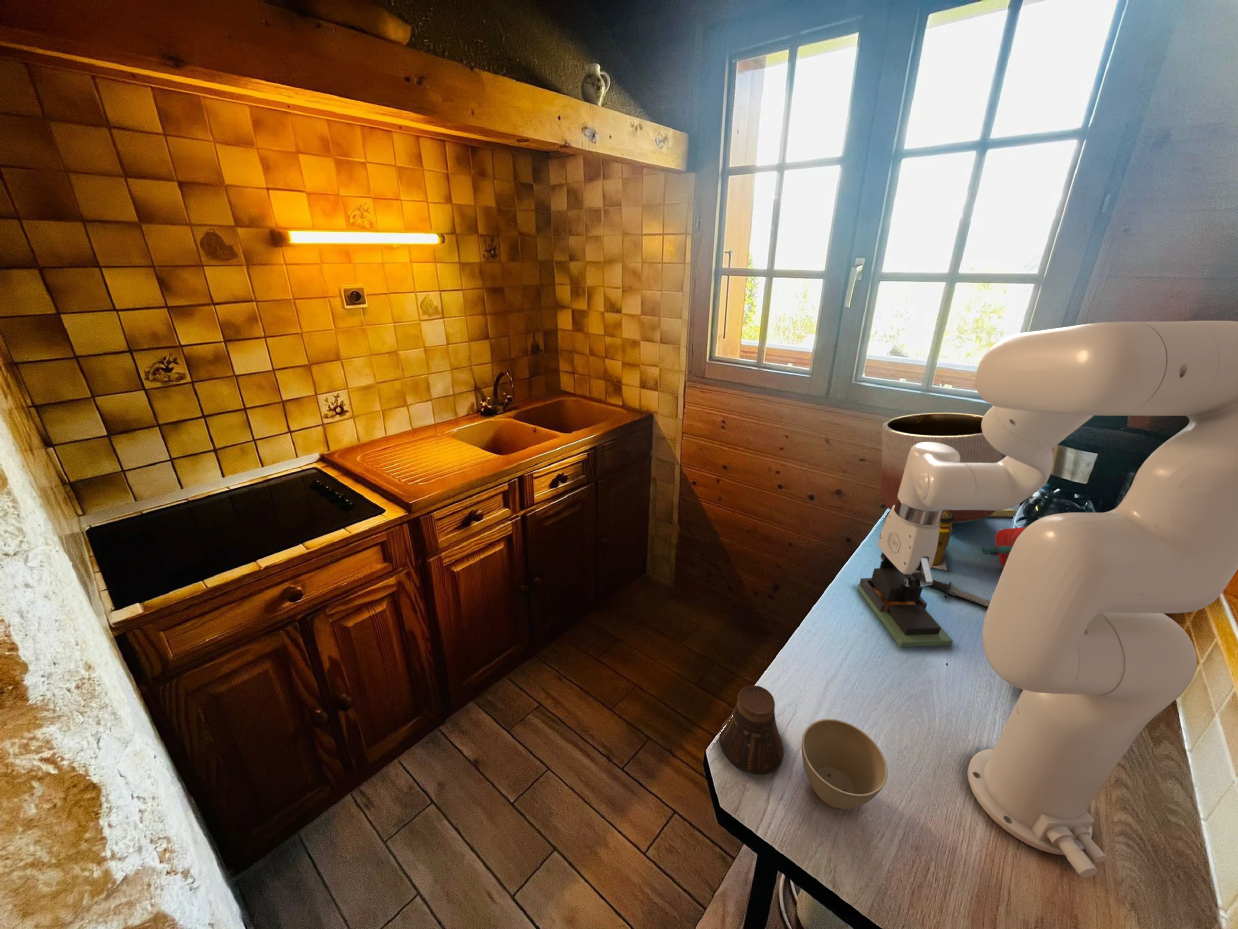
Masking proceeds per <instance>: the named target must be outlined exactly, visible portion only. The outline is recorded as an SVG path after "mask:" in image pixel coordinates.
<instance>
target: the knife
mask: <svg viewBox="0 0 1238 929" xmlns="http://www.w3.org/2000/svg"><path fill="white" fill-rule="evenodd" d="M911 575H912V576H913V577H914V578H915V579H916V574H911ZM932 580H933V584H932V585H927V586H928V587H929V586H930V588H934V589H937V590H940V591H942V592H944V593H945V595H944V598H947V597H948V595H952V596H954V597H956V596H957V597H960V598H962V599H965V600H968V601H971V602H973V603H976V604H979V605H980V606H981V605H982V606H983V607H987V608H988V607H989V604H990V602H991V600H987V599H985V598H982V597H980V596H977V595H974V594H971V593H969V592H966V591H963V590H960V589H958V587H955V586H953V585H952V581H949V583H948V584H947V583H944V582H942V581H939V580H937V579H933V578H932Z"/></svg>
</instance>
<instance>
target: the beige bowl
mask: <svg viewBox="0 0 1238 929" xmlns="http://www.w3.org/2000/svg"><path fill="white" fill-rule="evenodd" d="M801 738H802V739H801V758H802V765H803V768H804V771H805V775H806V778H807V779H808V782H809V784H810V786H811V788H812V789H813V791H814V792H815V794H816V795H817V797H818V798H819V799H820V800H821V801H823V802H824V803H825V804H826V805H828V806H830V807H832V808H835V809H840V810H851V809H855V808H859V807H861V806H863V805H865V804H867V803H869V802H870V801H872V800H873V799H874V798H876V797H877V795H878V794H879V793H880V792H881V790H882V789H883V788H884V787H885V785H886V782H887V779H888V771H889V770H888V765H887V761H886V759H885V756H884V754H883V751H881V749H880V747H879V746H878V745H877V743H876V742H875V741H874V740H873V739H872V738H871V737H870V736H869V735H868V734H867V733H865V732H864V731H863V730H862V729H860V728H859V727H858V726H855V725H853V724H851V723H849V722H847V721H843V720H841V719H835V718H823V719H819V720H815V721H813V722H812V723H810V724H809V725H808V726H807V727H806V729H805V730H804V732H803V735H802V737H801Z"/></svg>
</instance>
